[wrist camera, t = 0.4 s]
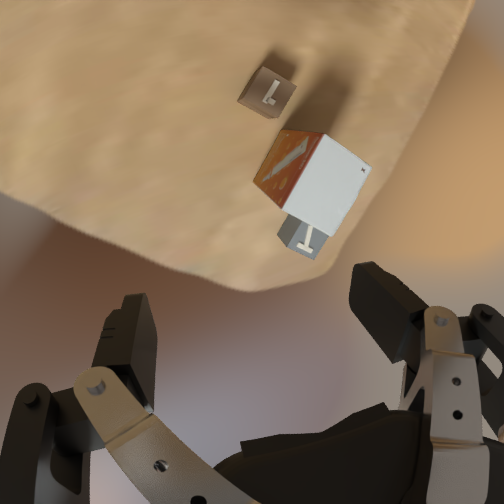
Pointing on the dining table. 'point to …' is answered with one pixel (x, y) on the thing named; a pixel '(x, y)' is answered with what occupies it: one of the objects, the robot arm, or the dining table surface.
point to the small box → (312, 178)
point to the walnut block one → (267, 93)
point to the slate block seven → (301, 237)
